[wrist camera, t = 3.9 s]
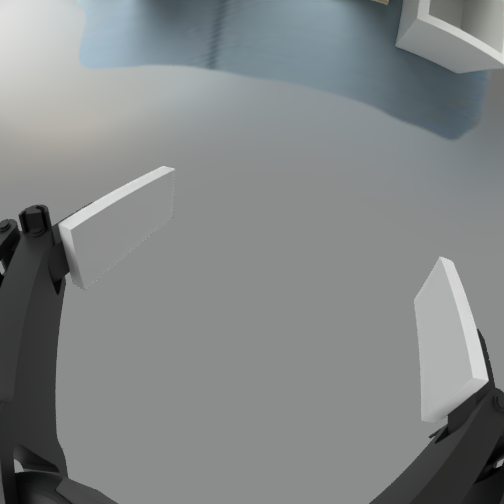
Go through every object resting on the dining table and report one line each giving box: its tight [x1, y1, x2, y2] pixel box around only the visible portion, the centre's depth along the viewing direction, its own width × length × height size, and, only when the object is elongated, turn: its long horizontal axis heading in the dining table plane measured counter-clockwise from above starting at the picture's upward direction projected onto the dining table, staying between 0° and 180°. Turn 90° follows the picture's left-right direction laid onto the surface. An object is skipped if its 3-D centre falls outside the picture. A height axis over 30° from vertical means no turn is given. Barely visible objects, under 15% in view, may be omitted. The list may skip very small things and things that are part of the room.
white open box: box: [395, 0, 504, 74], centre depth 19 cm, size 18×12×20 cm, turn 170°
